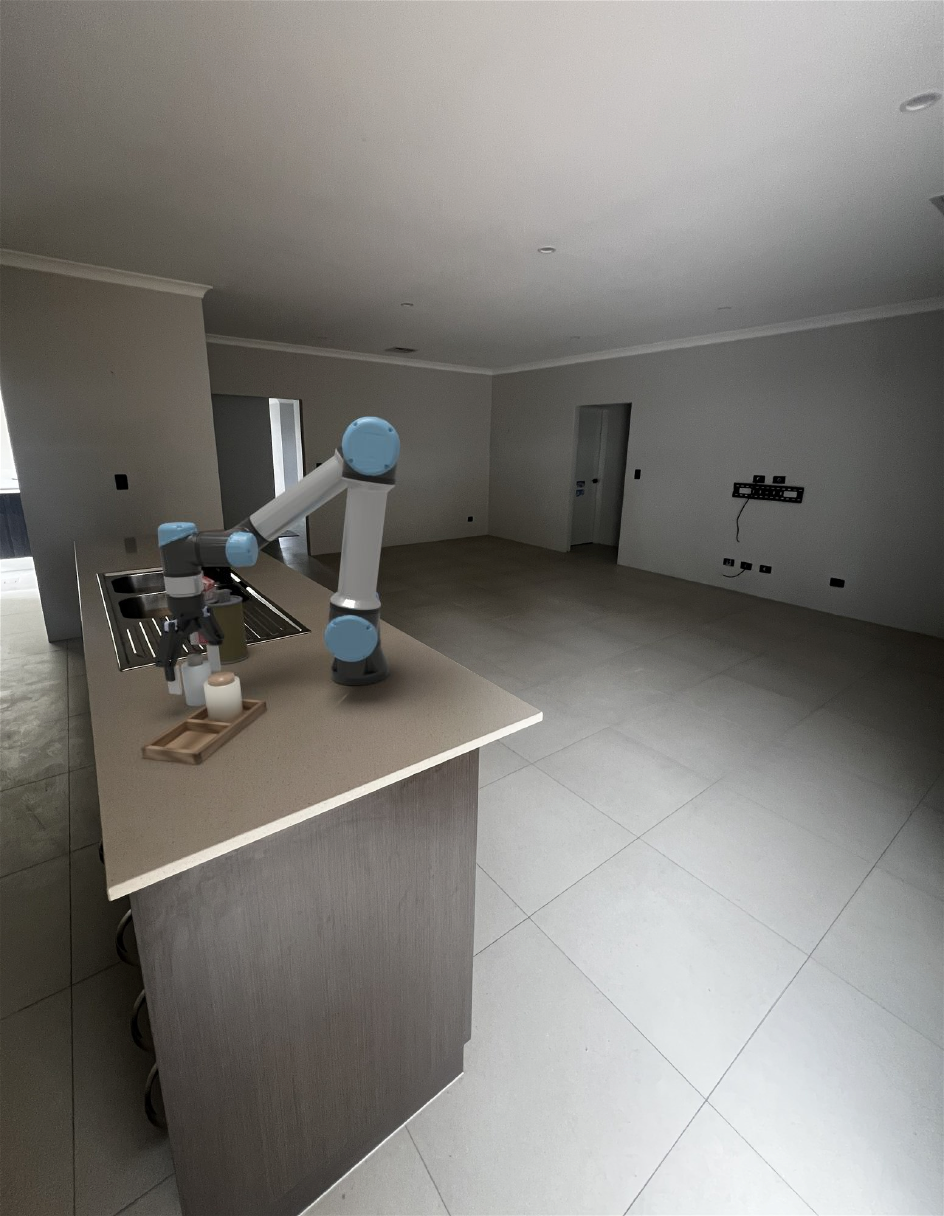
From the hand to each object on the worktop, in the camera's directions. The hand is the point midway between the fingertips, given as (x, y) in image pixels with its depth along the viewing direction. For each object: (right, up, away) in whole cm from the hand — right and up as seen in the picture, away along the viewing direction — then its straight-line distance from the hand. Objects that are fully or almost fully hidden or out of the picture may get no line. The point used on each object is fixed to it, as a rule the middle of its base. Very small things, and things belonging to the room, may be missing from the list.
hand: (196, 681), depth 126 cm
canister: (-6, +2, +30) cm, 31 cm away
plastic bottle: (0, -5, +2) cm, 6 cm away
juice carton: (-20, +6, +45) cm, 49 cm away
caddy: (+10, -9, -13) cm, 19 cm away
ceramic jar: (+11, -7, -8) cm, 15 cm away
